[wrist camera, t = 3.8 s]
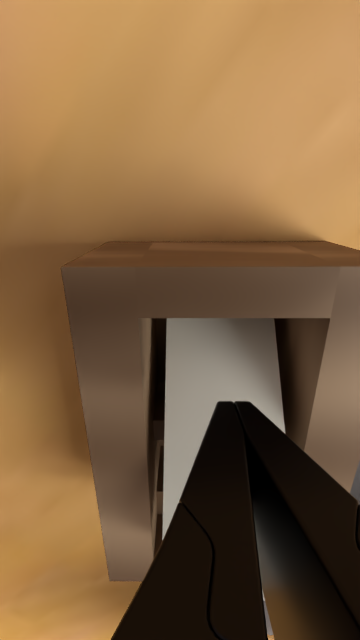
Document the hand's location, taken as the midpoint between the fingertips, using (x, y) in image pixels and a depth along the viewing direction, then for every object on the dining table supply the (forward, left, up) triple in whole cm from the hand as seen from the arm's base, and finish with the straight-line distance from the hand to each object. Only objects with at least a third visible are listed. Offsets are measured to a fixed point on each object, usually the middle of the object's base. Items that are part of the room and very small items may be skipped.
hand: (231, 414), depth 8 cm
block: (-3, 0, -3) cm, 4 cm away
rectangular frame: (-3, 0, -6) cm, 7 cm away
